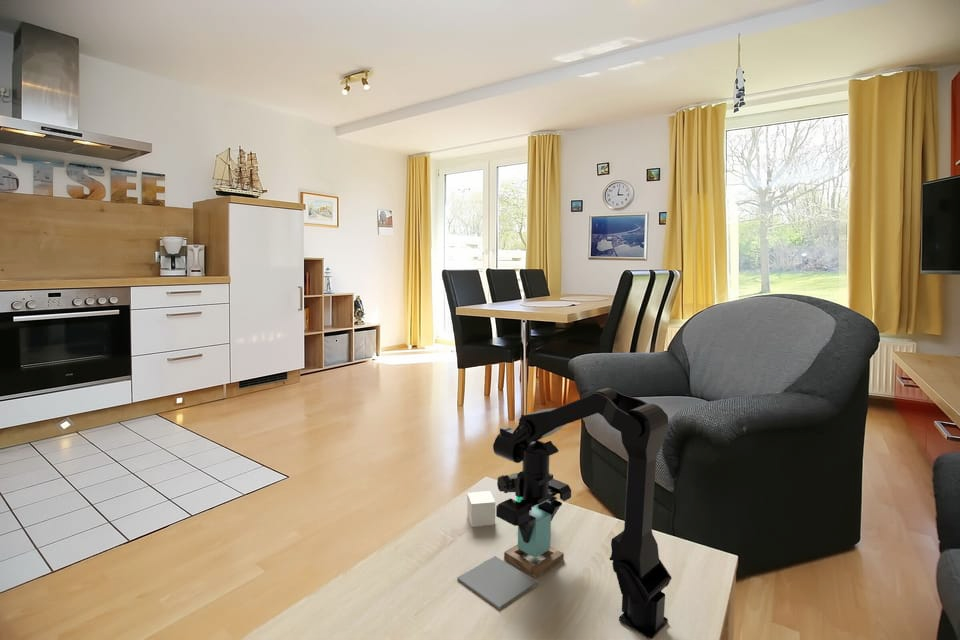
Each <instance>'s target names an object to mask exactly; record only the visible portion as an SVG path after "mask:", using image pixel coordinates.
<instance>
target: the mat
mask: <svg viewBox="0 0 960 640" xmlns="http://www.w3.org/2000/svg"><path fill="white" fill-rule="evenodd" d="M457 581H458V582H460V583H461V584H462V585H464V586H465V587H466V588H468V589H469V590H471V591H472V592H474V593H475V594H477V595H478V596H479V597H481V598H482V599H483V600H485V601H486V602H488V603H489V604H490V605H492V606H494V607H495V609H498V610H501V609H503V608H504V607H505V606H507V605H508V604H510V603H511V602H513V601H514V600H516V599H517V598H519V597H520V596H521V595H523V594H524V593H526V592H527V591H529V590H530V589H532V588H533V587H535V586H537V585H538V581H537V580H536V579H534V578H532V577H530V576H528V575H527V574H525V573H524V572H522V571H520V570H519V569H517V568H515V567H514V566H512V565H511V564H510V563H507V562H506V561H505V560H502V559H501V558H499V557H498V556H497V555H495V556H493V557H490V558H489V559H486V560H485V561H483V562H482V563H480V564H478V565H477V566H475V567H473V568H471V569H470V570H468V571H466V572H464V573H463V574H461V575H459V576H458V577H457Z"/></svg>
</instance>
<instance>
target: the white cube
mask: <svg viewBox="0 0 960 640" xmlns="http://www.w3.org/2000/svg"><path fill="white" fill-rule="evenodd" d="M466 494H467V496H466V497H467V498H466V499H467V500H466V502H467V505H466V507H467V509H466V515H467V518H468V521H469V524H470V527H472V528H474V527H484V526H483V525H486V526H494V524H495V525H496V500H495V498H494V496H493V494H492V492H491V491H490V490H489V491H473V492H466Z"/></svg>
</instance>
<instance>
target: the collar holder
mask: <svg viewBox="0 0 960 640" xmlns="http://www.w3.org/2000/svg"><path fill="white" fill-rule="evenodd" d="M524 553H525V552H524V551H522V550H520V549H518V543H517V544H515V545H514V546H512V547H510V548H508V549H507V550H505V551H504V552H503V556H504V557H503V558H504V560H507V562H510V563H511V564H513V565H515V566H517V567H518V568H520V569H521V570H523V571H525V572H526V573H528V574H530V575H531V576H533V577H534V578H538V577H540V576H541V575H543V574H544V573H546V572H547V571H549V570H550V569H553V567H555V566H556V565H558V564H560V563H561V562H562V561H564V559H565V558H564V556H565V553H564V552H562V551H561V550H559V549H556V548H555V547H553V546H551V545H550V549H549V550H548V551H546V552H544V553H543V554H544V555H545V556H547V557H545V558H543V560H540V561H539V562H538V563H536V564H535V563H533V562H532V561H531V560H528V559H526V558H525V557H523V556H522V554H524ZM543 554H542V555H543Z"/></svg>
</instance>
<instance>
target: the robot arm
mask: <svg viewBox="0 0 960 640" xmlns="http://www.w3.org/2000/svg"><path fill="white" fill-rule="evenodd" d="M596 414H599V415H601V416H602V417H603V418H604V420H606V422H607V423H608V425H609V426H611V427H612V428H613V429H616V431H619V432H620V436H621V437H620V438H621V443H622V446H623V448H624V449H625V452H626V454H627V472H626V473H627V474H626V486H625V487H626V492H625V508H624V526H623V530H622V531H621V532H620V533H618V534H617V535H615V536H614V537H613V538H612V537H611V542H610V546H611V554H610V557H609V561H612V562H611V563H612V564H611V565H612V569H613V572H614V573H615V576H616V578H617V581H618V586H619V589H620V594H621V595H622V597H621V612H622V614H621V615H619V616H618V621H619V622H620V623H622V624H623V625H626V626H627V627H629V628H630V629H633V630H634V631H635V632H637V633H639V634H641V635H643V636H644V637H645V638H647V639H650V640H651V639H653V638H654V637H655V636H656V635H657V634H658V633H659V632H660V631H661V630H662V629H663V628H664V627H665V626H666V625H667V624H668V622H669V619H668V617H665V608H666V607H665V603H666V594H665V593H664V592H663V590H664V589H665V588H666V587H668V586H669V584H670V582H671V580H672V576H671V574H670V573H669V571H668V569H667V568H666V566H665V565H664V564H663V562H662V560H661V559H660V554H659V546H658V542H657V540H656V539H655V536H654V534H653V530H652V529H653V518H654V517H653V515H654V499H655V497H654V496H655V485H656V484H655V483H656V470H657V469H656V468H657V466H656V465H657V457H658V454H659V452H660V451H661V448H662V445H664V442H665V440H666V436H667V432H668V427H669V422H670V421H669V417H668V414H667V413H666V412H665V411H664V409H663V408H662V407H660V406H659V405H658V404H654V403H648V402H646V401H644V400H643V399H639V398H636V397H633V396H629V395H626V394H623V393H622V392H619V391H617V390H616V389H613V388H610V387H605V388H602V389H599V390H597V391H594V392H593V393H592V394H588V395H587V396H585V397H581V398H579V399H577V400H574V401H572V402H569V403H567V404H564V405H562V406H561V405H560V406H559V407H551V408H544V409H540V410H537V411H533V412H530V413H526V414H524V415H522V416H520V417H519V419H518V420H519V422H518V425H517V427H516V428H515V429H512V428H511V427H509V426H504V427H501V428H499V433H498V435H497V436H496V437H495V440H494V442H493V444H492V449H493V453H494V455H496V456H499V457H501V458H503V459H506V460H508V461H510V462H513V463H516V464H520V463H522V471H518V472H519V473H518V472H515V473H511V474H509V475H508V474H506V475H500V476H498V477H497V483H496V484H497V490H498V491H499V492H503V493H505V494H508V493H515V494H514V495H515V497H516V496H518V497H523V498H522V499H523V500H521V501H520V502H517V501H516V500H515V499H513V498H508V499H506V500H504V501H502V502H499V503H498V504H496V505H495V517H497V518H498V519H501V520H503V521H505V522H507V523H508V524H510V525H513V526H514V527H515V526H516V527H518V526H519V529H520V532H521V535H522V538H523V541H524V542H525V543H529V540H530V537H531V534H532V530H533V527H534V523H535V520H536V518H535V517H533V516H531V511H532V508H534V507H536V506H538V508H539V509H541V510H543V511H545V512H547V513H549V514H551V522H552V521H553V518H554V517H555V515H556V514H557V512H558V510H559V509H560V508H561V507H562V505H563V502H566V501H568V500H569V499H571V498H572V489H571V487H570V485H569V484H567V483H565V482H562V481H560V480H557V479H555V478H554V474H552V473H550V458H551V457H550V456H552V455H555V454H558V453H559V449H558V446H555V444H553V442H552V441H551V440H549V441H546V442H544V441H541V440H542V439H545V438H546V437H550V436H552V435H553V434H555V433H557V432H558V431H560V430H562V429H563V427H564V426H566V425H568V424H571V423H574V422H575V421H579V420H581V419H582V420H583V419H585V418H588V417H591V416H593V415H596ZM557 495H559V499H560V500H561V501H559V500H558V497H557Z"/></svg>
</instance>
